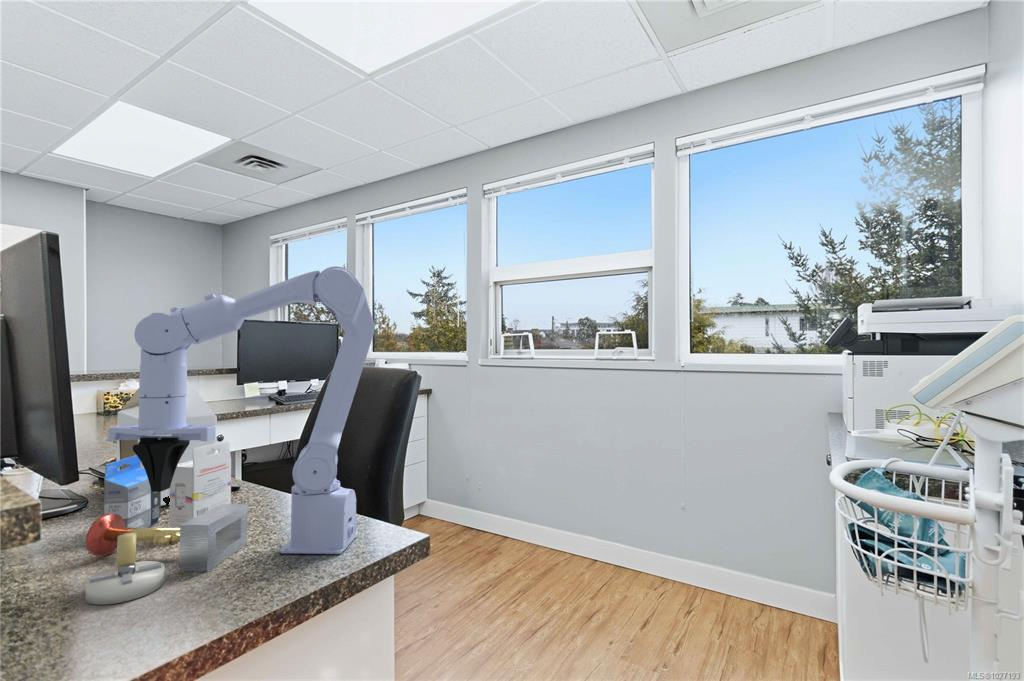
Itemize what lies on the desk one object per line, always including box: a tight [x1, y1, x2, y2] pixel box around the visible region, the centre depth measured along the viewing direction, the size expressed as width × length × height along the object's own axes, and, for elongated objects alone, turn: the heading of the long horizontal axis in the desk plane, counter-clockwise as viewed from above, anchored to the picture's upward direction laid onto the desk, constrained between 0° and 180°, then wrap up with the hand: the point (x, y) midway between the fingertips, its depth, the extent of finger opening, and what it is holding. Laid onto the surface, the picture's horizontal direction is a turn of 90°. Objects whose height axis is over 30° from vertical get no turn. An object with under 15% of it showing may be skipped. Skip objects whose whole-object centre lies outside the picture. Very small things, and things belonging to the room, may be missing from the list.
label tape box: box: [103, 455, 162, 528], centre depth 85 cm, size 9×4×12 cm, turn 5°
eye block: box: [178, 503, 249, 573], centre depth 74 cm, size 4×10×6 cm, turn 179°
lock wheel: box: [84, 533, 166, 606], centre depth 64 cm, size 8×8×6 cm
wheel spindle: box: [118, 563, 136, 576], centre depth 63 cm, size 2×2×1 cm
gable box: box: [115, 370, 218, 507], centre depth 109 cm, size 22×13×28 cm, turn 49°
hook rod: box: [85, 513, 180, 556], centre depth 74 cm, size 13×6×6 cm, turn 89°
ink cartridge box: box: [168, 440, 232, 528], centre depth 86 cm, size 9×5×15 cm, turn 168°
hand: (160, 489), depth 72 cm, fingers closed
